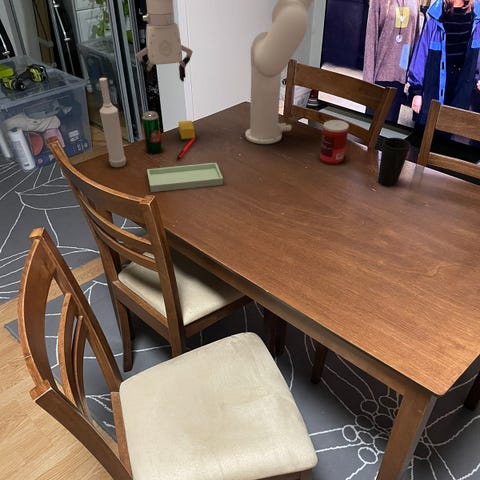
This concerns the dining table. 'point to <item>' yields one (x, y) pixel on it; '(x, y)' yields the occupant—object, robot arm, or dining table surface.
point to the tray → (184, 177)
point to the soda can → (152, 132)
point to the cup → (392, 160)
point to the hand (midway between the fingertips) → (167, 81)
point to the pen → (186, 148)
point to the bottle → (111, 128)
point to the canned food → (333, 141)
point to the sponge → (186, 130)
